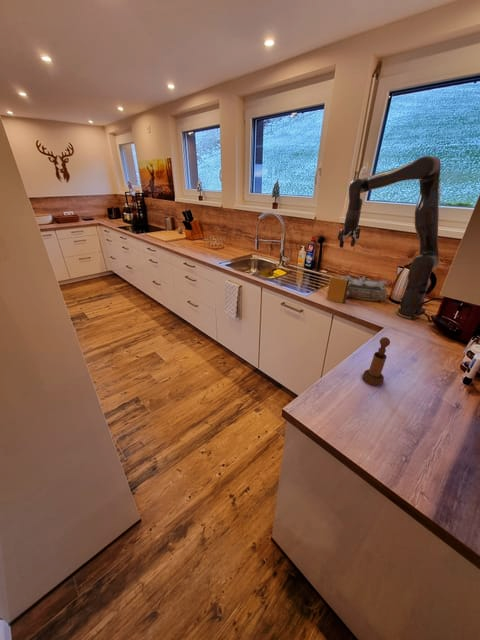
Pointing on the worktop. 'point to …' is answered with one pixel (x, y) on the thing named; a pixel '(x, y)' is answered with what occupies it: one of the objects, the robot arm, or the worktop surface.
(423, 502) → the worktop surface
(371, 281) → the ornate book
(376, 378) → the brown knobbed pedestal
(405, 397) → the worktop surface
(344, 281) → the tan upright box
